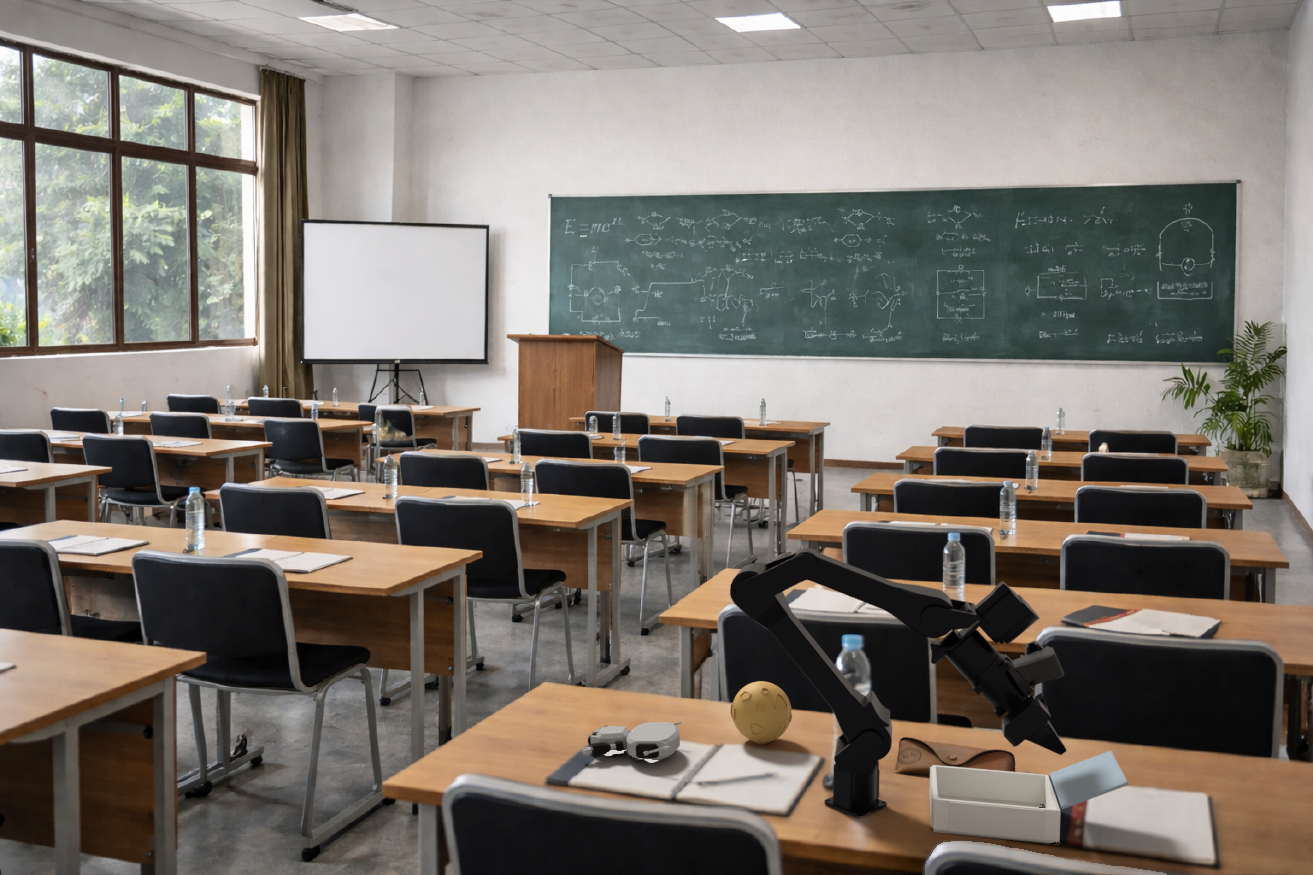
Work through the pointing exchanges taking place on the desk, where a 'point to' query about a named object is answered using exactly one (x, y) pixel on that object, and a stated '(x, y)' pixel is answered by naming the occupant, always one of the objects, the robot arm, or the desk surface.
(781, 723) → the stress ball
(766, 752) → the desk surface
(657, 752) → the robot toy
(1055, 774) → the flap
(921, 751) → the sunglasses case
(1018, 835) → the carton
